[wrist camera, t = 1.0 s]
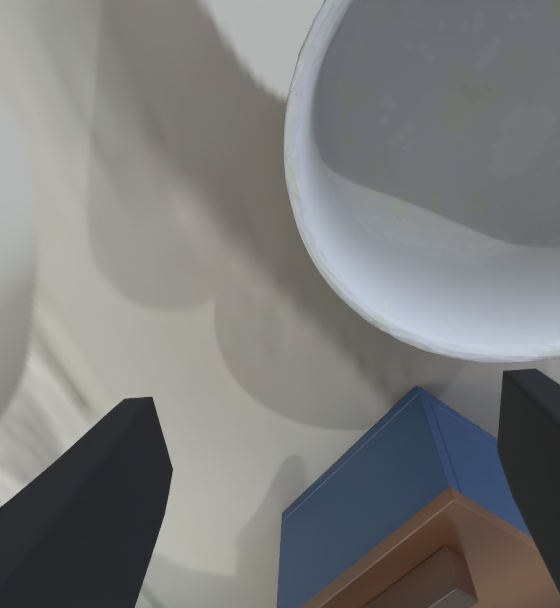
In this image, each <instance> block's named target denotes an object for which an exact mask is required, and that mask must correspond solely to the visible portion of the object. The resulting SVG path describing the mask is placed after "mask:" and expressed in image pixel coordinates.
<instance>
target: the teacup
mask: <svg viewBox="0 0 560 608" xmlns="http://www.w3.org/2000/svg"><path fill="white" fill-rule="evenodd" d="M284 167H285V179H286V186H287V191H288V195H289V199H290V202H291V206H292V210H293V213H294V217H295V220H296V224H297V227H298V231H299V233H300V236H301V238H302V240H303V242H304V244H305V247H306V249H307V251H308V253H309V255H310V257H311V259H312V261H313V262H314V264H315V266H316V267H317V269H318V271H319V272H320V274H321V275H322V276H323V278H324V279H325V280H326V282H327V283H328V284H329V285H330V287H331V288H332V289H333V291H334V292H335V293H336V294H337V295H338V296H339V297H340V298H341V299H342V300H343V301H344V302H345V303H346V304H347V305H349V306H350V307H351V308H352V309H353V310H354V311H355V312H356V313H358V314H359V315H360V316H361V317H362V318H364V319H365V320H366V321H368V322H369V323H370V324H372V325H373V326H374V327H376V328H378V329H380V330H382V331H384V332H386V333H387V334H389V335H391V336H393V337H394V338H396V339H398V340H400V341H402V342H404V343H406V344H409V345H411V346H413V347H416V348H418V349H420V350H423V351H427V352H431V353H434V354H438V355H441V356H446V357H451V358H456V359H461V360H466V361H472V362H493V363H519V362H527V361H537V360H547V359H556V358H560V0H325V1H324V2H323V4H322V6H321V8H320V10H319V11H318V13H317V15H316V17H315V19H314V20H313V23H312V25H311V27H310V29H309V32H308V34H307V36H306V39H305V41H304V43H303V45H302V48H301V50H300V52H299V56H298V60H297V63H296V67H295V71H294V75H293V78H292V82H291V86H290V90H289V93H288V97H287V103H286V112H285V121H284Z"/></svg>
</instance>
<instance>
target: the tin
mask: <svg viewBox="0 0 560 608" xmlns="http://www.w3.org/2000/svg"><path fill="white" fill-rule="evenodd" d="M497 444H498V440H497V439H496V438H494V437H493V436H491V435H490V434H488V433H487V432H485V431H484V430H482V429H481V428H479V427H478V426H476V425H475V424H473V423H472V422H470V421H469V420H467V419H466V418H464V417H463V416H461V415H460V414H458V413H457V412H455V411H454V410H452V409H451V408H449V407H448V406H446V405H445V404H443V403H442V402H440V401H439V400H437V399H436V398H434V397H433V396H431V395H430V394H428V393H427V392H425V391H424V390H422V389H421V388H419V387H418V386H415V387H414V388H413V389H412V390H411V391H410V392H409V393H408V394H407V395H406V396H405V397H404V398H403V399H402V400H401V401H400V402H399V403H398V404H396V405H395V406H394V407H393V408H392V409H391V410H390V411H389V412H388V413H387V414H386V415H385V416H384V417H383V418H382V419H381V420H380V421H379V422H378V423H377V424H376V425H374V426H373V427H372V428H371V429H370V430H369V431H368V432H367V433H366V434H365V435H364V436H363V437H362V438H361V439H360V440H359V441H358V442H357V443H356V444H355V445H353V446H352V447H351V448H350V449H349V450H348V451H347V452H346V453H345V454H344V455H343V456H342V457H341V458H340V459H339V460H338V461H337V462H336V463H335V464H334V465H332V466H331V467H330V468H329V469H328V470H327V471H326V472H325V473H324V474H323V475H322V476H321V477H320V478H319V479H318V480H317V481H316V482H315V483H314V484H313V485H311V486H310V487H309V488H308V489H307V490H306V491H305V492H304V493H303V494H302V495H301V496H300V497H299V498H298V499H297V500H296V501H295V502H294V503H293V504H292V505H290V506H289V507H288V508H287V509H286V510H285V511H284V512H283V513H282V524H281V542H280V560H279V578H278V596H277V608H301V607H302V606H303V605H305V604H306V603H307V602H308V601H310V600H311V599H312V598H313V597H314V596H316V595H317V594H318V593H319V592H321V591H322V590H323V589H324V588H326V587H327V586H328V585H329V584H330V583H332V582H333V581H334V580H335V579H337V578H338V577H339V576H340V575H342V574H343V573H344V572H345V571H346V570H348V569H349V568H350V567H351V566H353V565H354V564H355V563H356V562H358V561H359V560H360V559H361V558H362V557H364V556H365V555H366V554H367V553H369V552H370V551H371V550H372V549H374V548H375V547H376V546H377V545H378V544H380V543H381V542H382V541H383V540H385V539H386V538H387V537H388V536H390V535H391V534H392V533H393V532H394V531H396V530H397V529H398V528H399V527H401V526H402V525H403V524H404V523H406V522H407V521H408V520H409V519H410V518H412V517H413V516H414V515H415V514H417V513H418V512H419V511H420V510H422V509H423V508H424V507H425V506H426V505H428V504H429V503H430V502H431V501H433V500H434V499H435V498H436V497H438V496H439V495H440V494H441V493H442V492H444V491H445V490H446V489H447V488H449V487H452V488H453V489H455V490H456V491H458V492H460V493H461V494H463V495H464V496H466V497H468V498H469V499H471V500H472V501H474V502H476V503H477V504H479V505H481V506H482V507H484V508H485V509H487V510H489V511H490V512H492V513H493V514H495V515H497V516H498V517H500V518H501V519H503V520H505V521H506V522H508V523H510V524H511V525H513V526H514V527H516V528H518V529H519V530H521V531H522V532H524V533H526V534H527V535H529V536H530V537H532V536H531V534H530V532H529V530H528V528H527V526H526V524H525V522H524V520H523V518H522V516H521V513H520V511H519V509H518V507H517V505H516V503H515V501H514V499H513V496H512V494H511V491H510V488H509V485H508V482H507V479H506V476H505V473H504V470H503V467H502V464H501V461H500V458H499V455H498V452H497Z"/></svg>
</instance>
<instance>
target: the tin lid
mask: <svg viewBox="0 0 560 608" xmlns="http://www.w3.org/2000/svg"><path fill="white" fill-rule="evenodd" d="M301 608H560V594H559V592H558V589H557V587H556V585H555V583H554V581H553V579H552V577H551V575H550V573H549V571H548V569H547V567H546V565H545V563H544V561H543V559H542V557H541V555H540V553H539V551H538V549H537V547H536V545H535V542H534V540H533V538H532V537H530V536H529V535H527V534H526V533H524V532H522V531H521V530H519V529H518V528H516V527H514V526H513V525H511V524H510V523H508V522H506V521H505V520H503V519H501V518H500V517H498V516H497V515H495V514H493V513H492V512H490V511H489V510H487V509H485V508H484V507H482V506H481V505H479V504H477V503H476V502H474V501H472V500H471V499H469V498H468V497H466V496H464V495H463V494H461V493H460V492H458V491H456V490H455V489H453V488H452V487H449V488H447V489H446V490H445V491H444V492H442V493H441V494H440V495H439V496H438V497H436V498H435V499H434V500H433V501H431V502H430V503H429V504H428V505H426V506H425V507H424V508H423V509H422V510H420V511H419V512H418V513H417V514H415V515H414V516H413V517H412V518H410V519H409V520H408V521H407V522H406V523H404V524H403V525H402V526H401V527H399V528H398V529H397V530H396V531H394V532H393V533H392V534H391V535H390V536H388V537H387V538H386V539H385V540H383V541H382V542H381V543H380V544H378V545H377V546H376V547H375V548H374V549H372V550H371V551H370V552H369V553H367V554H366V555H365V556H364V557H362V558H361V559H360V560H359V561H358V562H356V563H355V564H354V565H353V566H351V567H350V568H349V569H348V570H346V571H345V572H344V573H343V574H342V575H340V576H339V577H338V578H337V579H335V580H334V581H333V582H332V583H330V584H329V585H328V586H327V587H326V588H324V589H323V590H322V591H321V592H319V593H318V594H317V595H316V596H314V597H313V598H312V599H311V600H310V601H308V602H307V603H306V604H305V605H303V606H302V607H301Z"/></svg>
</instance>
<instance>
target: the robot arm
mask: <svg viewBox="0 0 560 608" xmlns="http://www.w3.org/2000/svg"><path fill="white" fill-rule="evenodd" d="M497 452H498V455H499V458H500V461H501V464H502V467H503V470H504V473H505V476H506V479H507V482H508V485H509V488H510V491H511V494H512V496H513V499H514V501H515V503H516V505H517V507H518V509H519V511H520V513H521V516H522V518H523V520H524V522H525V524H526V526H527V528H528V530H529V532H530V534H531V536H532V538H533V540H534V542H535V545H536V547H537V549H538V551H539V553H540V555H541V557H542V559H543V561H544V563H545V565H546V567H547V569H548V571H549V573H550V575H551V577H552V579H553V581H554V583H555V585H556V587H557V589H558V592H559V594H560V385H559V384H558V383H556V382H555V381H553V380H552V379H550V378H549V377H547V376H546V375H544V374H543V373H541V372H540V371H538V370H537V369H524V370H510V371H503V380H502V393H501V406H500V419H499V431H498V444H497ZM172 472H173V468H172V464H171V461H170V457H169V454H168V450H167V447H166V443H165V440H164V436H163V433H162V429H161V426H160V422H159V419H158V415H157V412H156V408H155V405H154V401H153V398H152V397H143V398H129V399H124V400H123V401H121V402H120V403H119V404H118V405H117V406H115V407H114V408H113V409H112V410H111V411H110V412H109V413H108V414H107V415H105V416H104V417H103V418H102V419H101V420H100V421H99V422H98V423H97V424H96V425H95V426H93V427H92V428H91V429H90V430H89V431H88V432H87V433H86V434H85V435H84V436H83V437H82V438H81V439H79V440H78V441H77V442H76V443H75V444H74V445H73V446H72V447H71V448H70V449H68V450H67V451H66V452H65V453H64V454H63V455H62V456H61V457H60V458H59V459H57V460H56V461H55V462H54V463H53V464H52V465H51V466H50V467H48V468H47V469H46V470H45V471H44V472H42V473H41V474H40V475H39V476H38V477H36V478H35V479H34V480H33V481H32V482H31V483H29V484H28V485H27V486H26V487H25V488H23V489H22V490H21V491H20V492H19V493H17V494H16V495H15V496H14V497H13V498H12V499H10V500H9V501H8V502H7V503H5V504H4V505H3V506H2V507H0V608H135V605H136V602H137V599H138V596H139V593H140V590H141V587H142V583H143V580H144V577H145V574H146V571H147V568H148V565H149V562H150V559H151V556H152V553H153V550H154V547H155V544H156V540H157V537H158V534H159V531H160V528H161V525H162V521H163V518H164V515H165V510H166V505H167V500H168V495H169V489H170V484H171V478H172Z"/></svg>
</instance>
